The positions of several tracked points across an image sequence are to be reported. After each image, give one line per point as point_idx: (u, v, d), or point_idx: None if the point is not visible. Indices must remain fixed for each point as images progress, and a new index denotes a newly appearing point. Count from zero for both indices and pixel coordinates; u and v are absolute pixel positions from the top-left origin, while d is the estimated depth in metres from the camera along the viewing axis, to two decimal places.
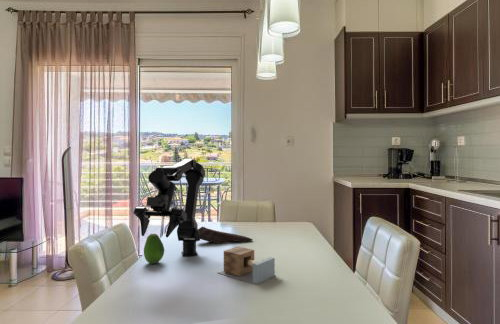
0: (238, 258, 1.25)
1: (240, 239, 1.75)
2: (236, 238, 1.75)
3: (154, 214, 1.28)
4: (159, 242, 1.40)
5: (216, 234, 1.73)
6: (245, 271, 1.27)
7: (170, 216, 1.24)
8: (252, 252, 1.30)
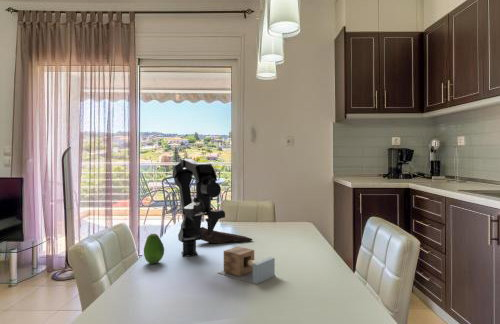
0: (238, 258, 1.25)
1: (240, 239, 1.75)
2: (236, 238, 1.75)
3: (199, 213, 1.41)
4: (159, 242, 1.40)
5: (216, 234, 1.72)
6: (245, 271, 1.27)
7: (206, 219, 1.35)
8: (252, 252, 1.30)
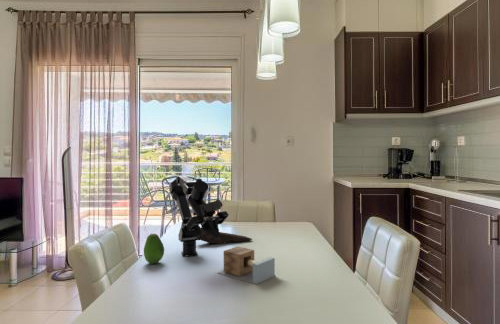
0: (238, 258, 1.25)
1: (240, 239, 1.75)
2: (236, 238, 1.75)
3: None
4: (159, 242, 1.40)
5: None
6: (245, 271, 1.27)
7: (216, 219, 1.39)
8: (252, 252, 1.30)
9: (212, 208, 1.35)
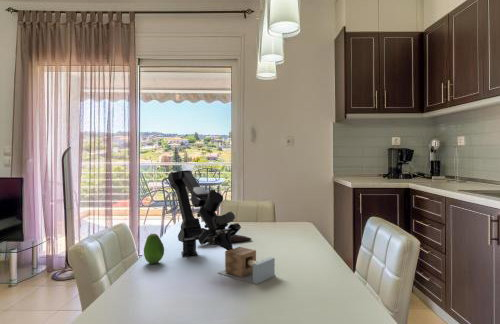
0: (240, 258, 1.25)
1: (240, 239, 1.76)
2: (236, 238, 1.75)
3: None
4: (159, 242, 1.40)
5: None
6: (247, 271, 1.26)
7: (228, 232, 1.35)
8: (254, 252, 1.30)
9: (225, 221, 1.31)
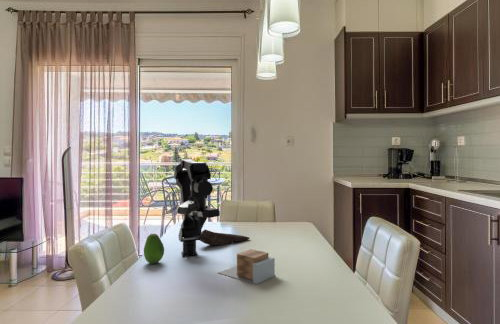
0: (253, 261, 1.21)
1: (240, 239, 1.76)
2: (237, 238, 1.75)
3: None
4: (159, 242, 1.40)
5: (220, 236, 1.69)
6: None
7: (195, 217, 1.38)
8: (267, 255, 1.26)
9: None
